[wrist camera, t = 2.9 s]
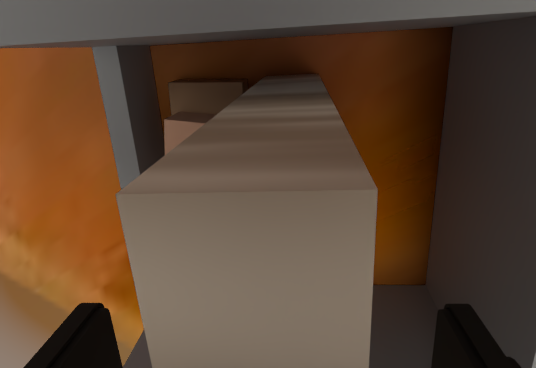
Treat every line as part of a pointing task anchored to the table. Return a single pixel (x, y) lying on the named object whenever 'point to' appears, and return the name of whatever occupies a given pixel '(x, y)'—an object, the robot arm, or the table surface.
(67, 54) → the table surface
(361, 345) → the tall board
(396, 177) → the table surface
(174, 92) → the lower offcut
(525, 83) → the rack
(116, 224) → the table surface
